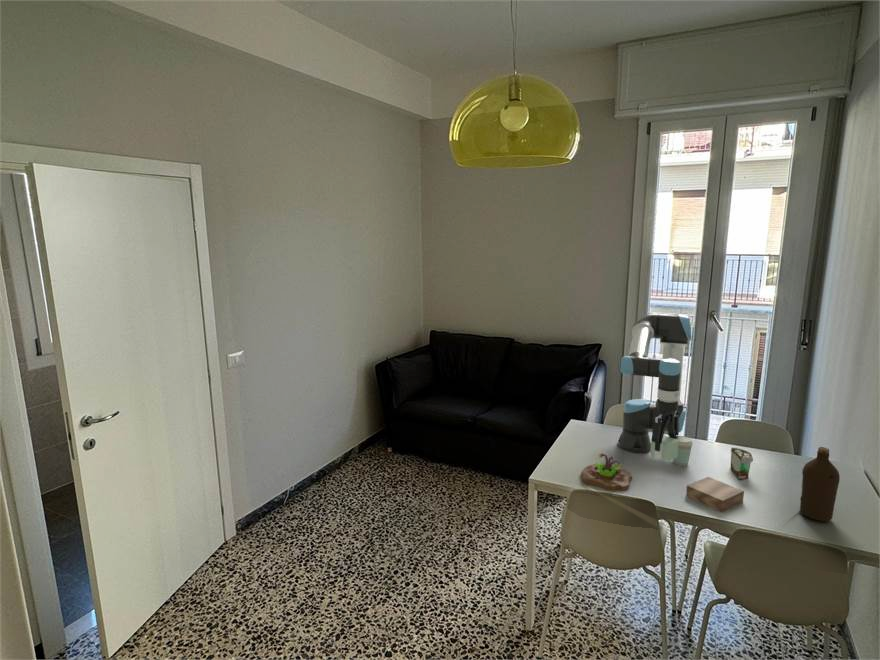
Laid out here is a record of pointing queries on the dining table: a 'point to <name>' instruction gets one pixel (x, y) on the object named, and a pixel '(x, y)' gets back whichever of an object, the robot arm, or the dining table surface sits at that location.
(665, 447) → the sage cube
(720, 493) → the walnut block
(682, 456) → the coffee cup
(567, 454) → the dining table surface
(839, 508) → the dining table surface
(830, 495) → the brown bottle
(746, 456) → the food container
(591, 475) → the plant
